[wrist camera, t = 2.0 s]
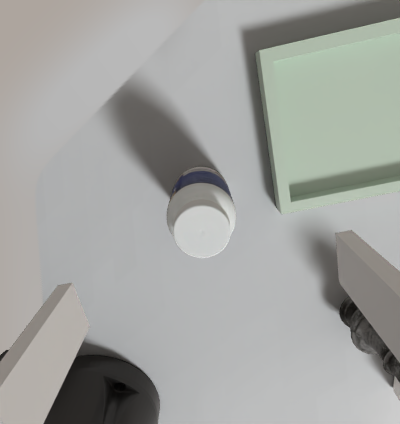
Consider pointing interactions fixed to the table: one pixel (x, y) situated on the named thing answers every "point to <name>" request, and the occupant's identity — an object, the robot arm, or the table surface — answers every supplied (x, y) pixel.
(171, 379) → the table surface
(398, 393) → the salt shaker
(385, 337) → the robot arm
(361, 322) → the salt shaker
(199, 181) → the pill bottle
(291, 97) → the tray
